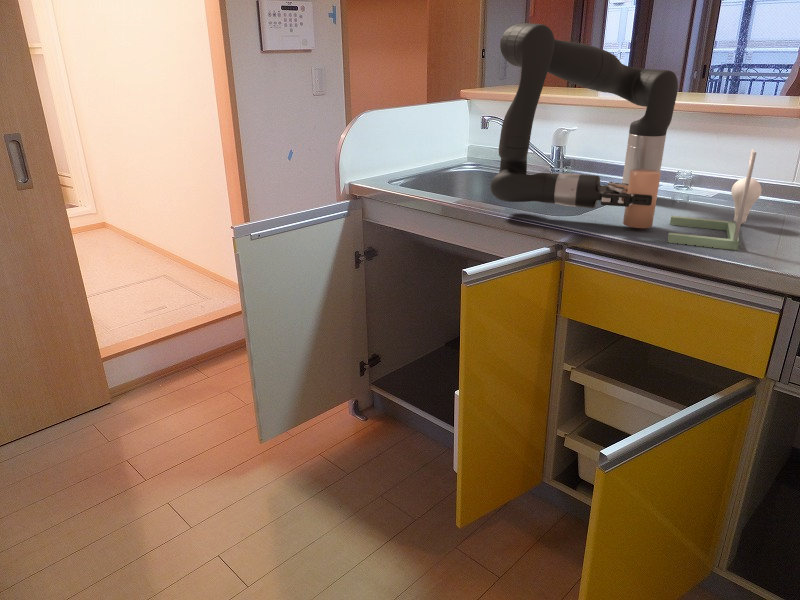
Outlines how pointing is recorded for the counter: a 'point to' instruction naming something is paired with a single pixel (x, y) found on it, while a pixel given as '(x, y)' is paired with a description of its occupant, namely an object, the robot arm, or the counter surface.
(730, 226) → the green u-shaped stand
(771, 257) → the counter surface
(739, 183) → the lightbulb
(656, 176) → the peach cylinder
